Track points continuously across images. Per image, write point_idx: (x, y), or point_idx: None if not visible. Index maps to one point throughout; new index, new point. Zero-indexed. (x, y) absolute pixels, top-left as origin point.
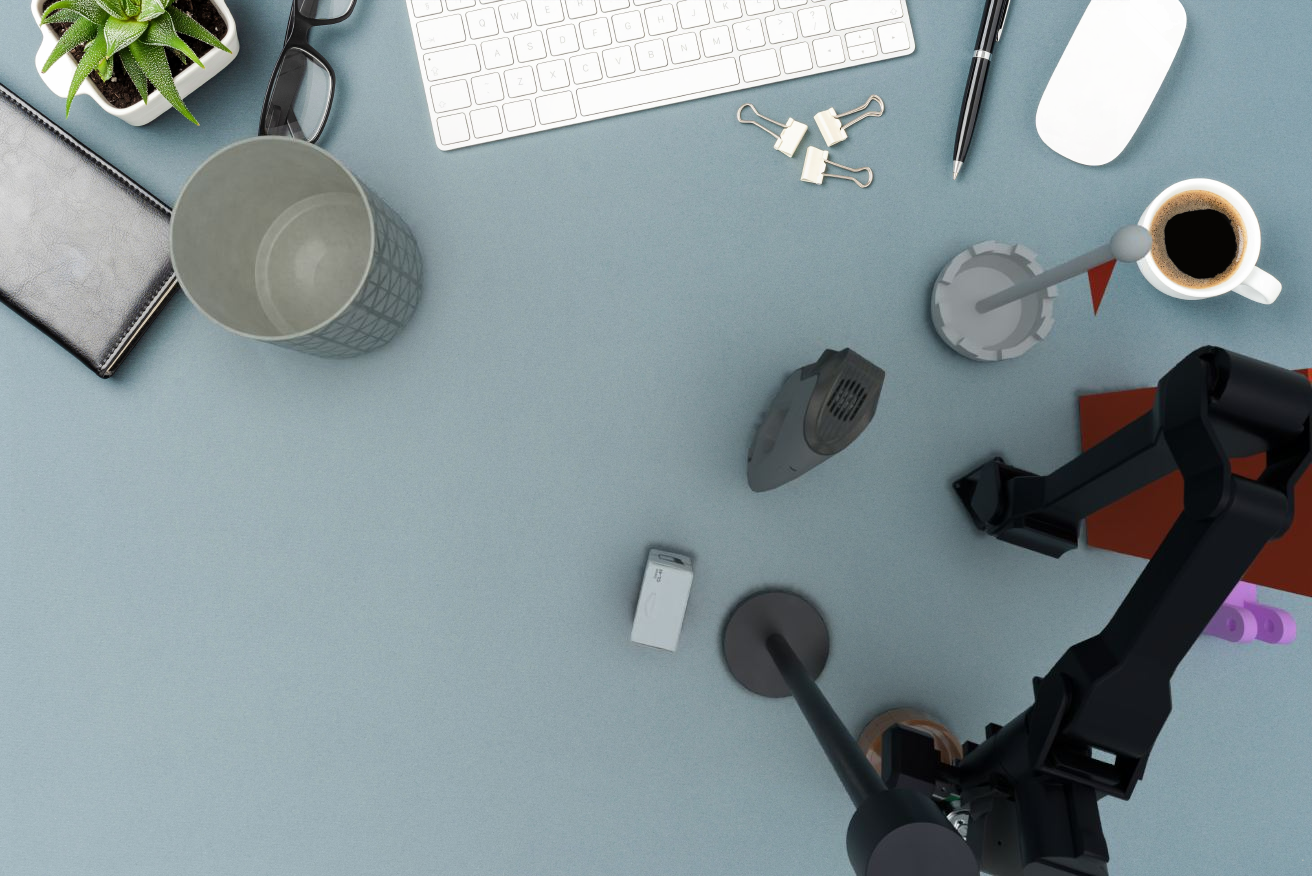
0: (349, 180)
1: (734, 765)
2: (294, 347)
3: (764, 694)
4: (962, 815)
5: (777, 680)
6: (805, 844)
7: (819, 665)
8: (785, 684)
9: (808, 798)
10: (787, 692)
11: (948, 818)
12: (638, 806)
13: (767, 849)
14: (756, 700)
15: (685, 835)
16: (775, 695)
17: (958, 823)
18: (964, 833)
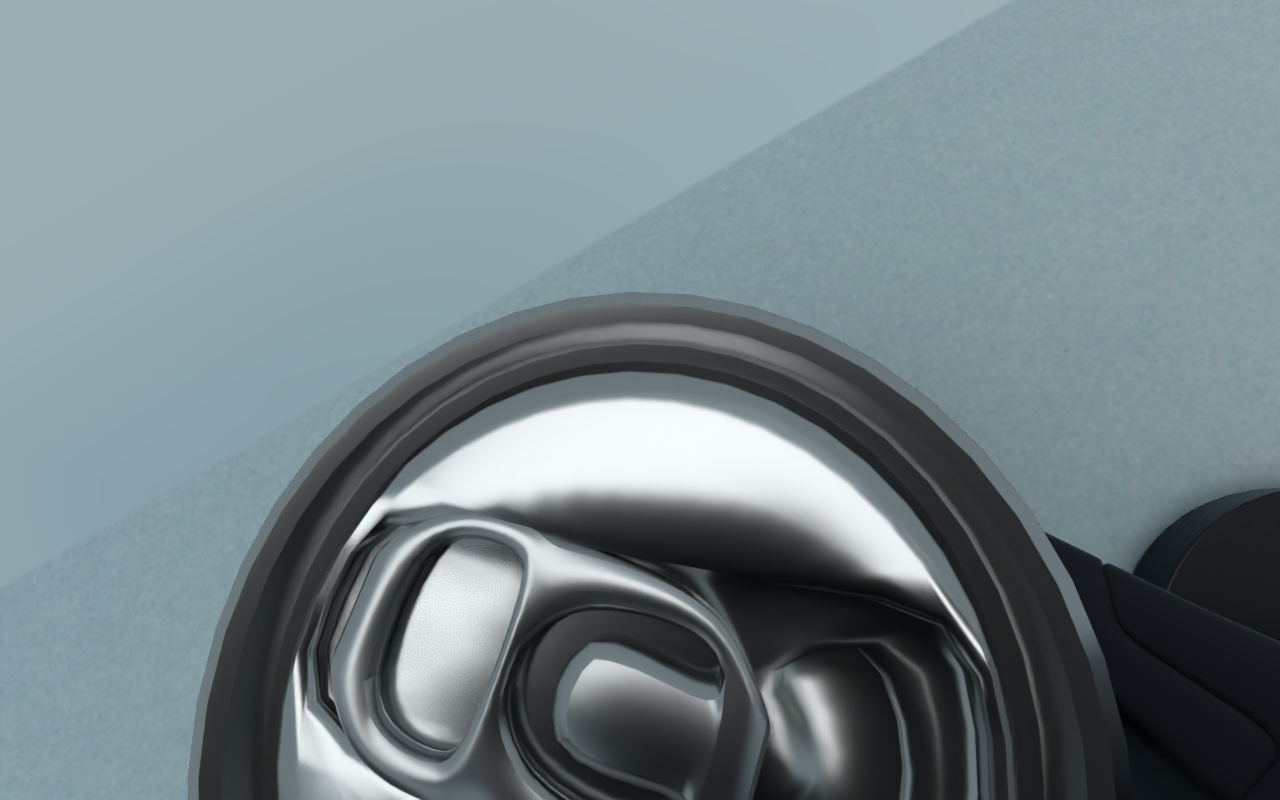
0: None
1: (1119, 255)
2: None
3: (1275, 500)
4: None
5: (1278, 573)
6: (794, 187)
7: None
8: (1240, 575)
9: (865, 291)
10: (1210, 552)
11: (1014, 771)
12: (1263, 28)
13: (876, 124)
14: (1217, 461)
15: (1093, 39)
16: (1239, 518)
17: (800, 794)
18: (614, 686)
